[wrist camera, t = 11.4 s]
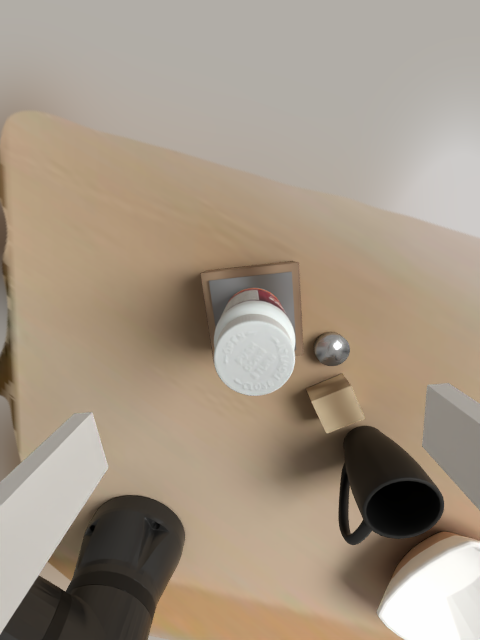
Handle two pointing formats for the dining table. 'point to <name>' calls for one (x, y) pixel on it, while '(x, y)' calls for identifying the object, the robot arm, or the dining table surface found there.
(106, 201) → the dining table surface
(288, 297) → the walnut stand
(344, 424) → the oak offcut
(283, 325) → the pill bottle
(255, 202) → the dining table surface
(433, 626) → the bowl
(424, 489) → the mug
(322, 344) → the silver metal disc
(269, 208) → the dining table surface
